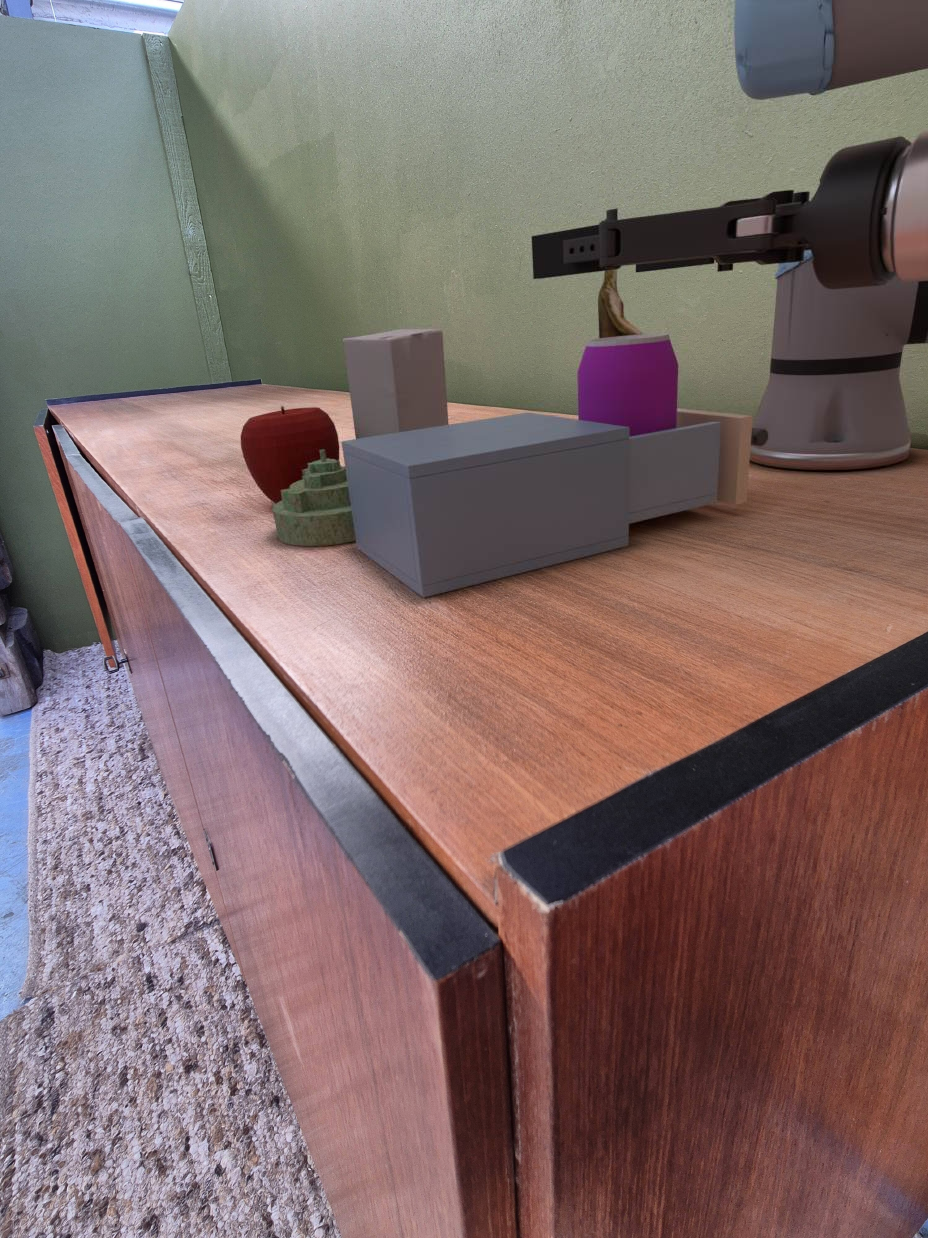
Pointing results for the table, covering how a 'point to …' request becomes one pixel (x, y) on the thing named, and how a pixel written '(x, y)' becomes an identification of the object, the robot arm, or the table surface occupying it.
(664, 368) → the beverage can
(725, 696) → the table surface
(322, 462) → the decorative artifact
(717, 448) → the drawer
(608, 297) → the figurine
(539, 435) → the cabinet
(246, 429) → the apple
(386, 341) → the cosmetic box
